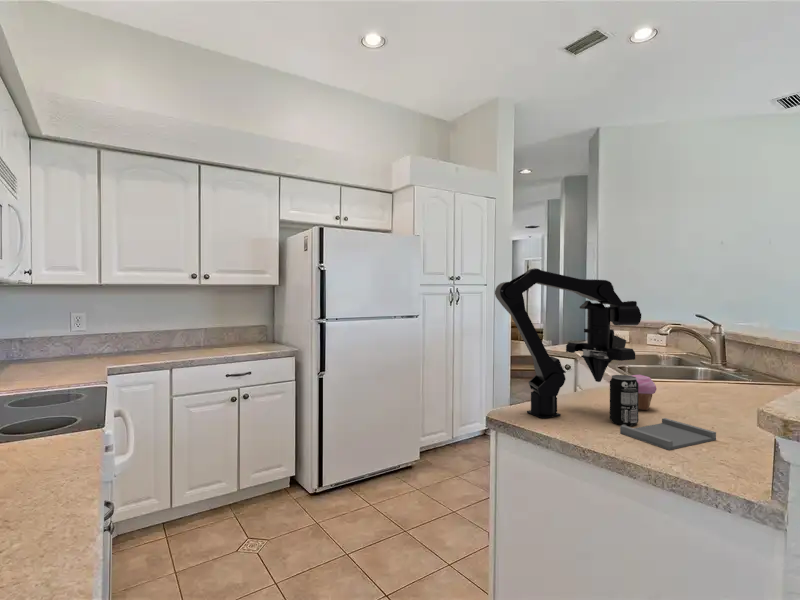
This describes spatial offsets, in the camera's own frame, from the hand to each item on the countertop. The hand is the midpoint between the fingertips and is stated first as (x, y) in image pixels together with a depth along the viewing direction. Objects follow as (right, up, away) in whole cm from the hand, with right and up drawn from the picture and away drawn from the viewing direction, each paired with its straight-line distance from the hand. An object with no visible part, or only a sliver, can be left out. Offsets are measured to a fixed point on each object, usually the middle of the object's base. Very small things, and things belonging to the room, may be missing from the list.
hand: (598, 381), depth 116 cm
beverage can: (+3, -10, -7) cm, 12 cm away
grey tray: (+8, -9, -18) cm, 22 cm away
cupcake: (+15, -9, +6) cm, 19 cm away
